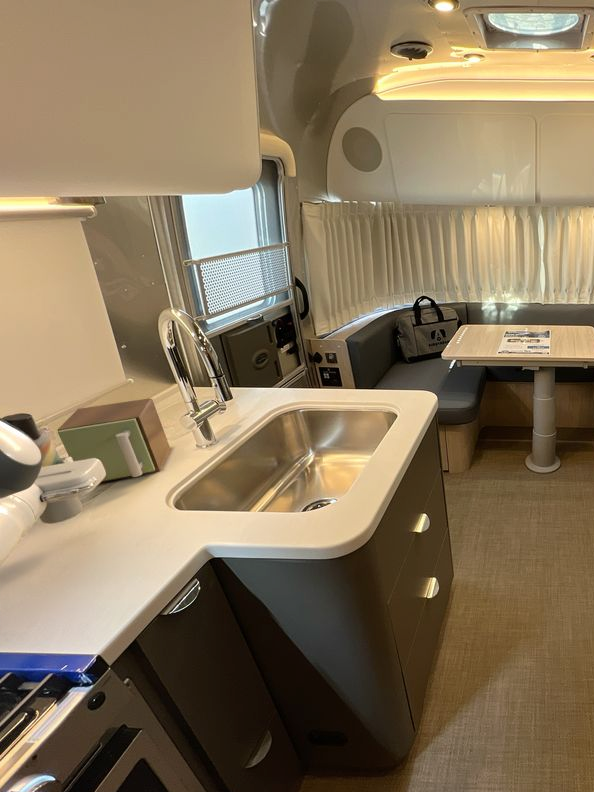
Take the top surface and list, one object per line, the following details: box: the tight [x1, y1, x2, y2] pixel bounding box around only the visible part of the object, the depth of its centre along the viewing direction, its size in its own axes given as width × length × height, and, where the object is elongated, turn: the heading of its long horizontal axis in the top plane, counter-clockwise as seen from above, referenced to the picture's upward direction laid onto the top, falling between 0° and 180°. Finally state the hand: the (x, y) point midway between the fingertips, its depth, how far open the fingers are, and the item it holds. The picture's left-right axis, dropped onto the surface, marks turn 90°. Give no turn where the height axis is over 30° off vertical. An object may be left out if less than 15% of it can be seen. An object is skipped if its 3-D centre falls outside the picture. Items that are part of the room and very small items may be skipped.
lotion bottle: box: [1, 412, 83, 525], centre depth 84 cm, size 6×6×20 cm
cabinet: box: [57, 397, 171, 484], centre depth 111 cm, size 14×12×14 cm
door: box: [57, 418, 155, 481], centre depth 104 cm, size 13×5×13 cm, turn 115°
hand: (41, 465), depth 85 cm, fingers closed on lotion bottle, 5 cm apart
